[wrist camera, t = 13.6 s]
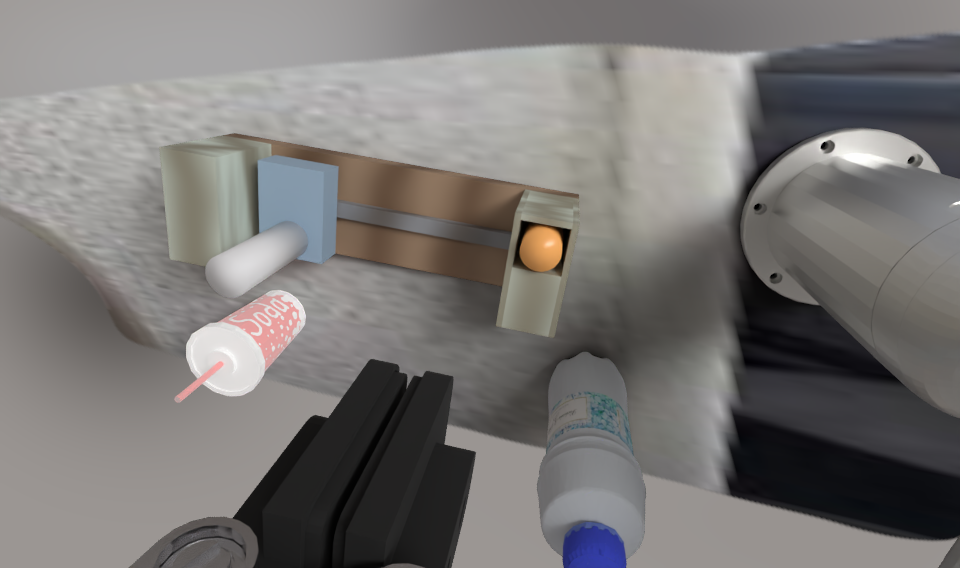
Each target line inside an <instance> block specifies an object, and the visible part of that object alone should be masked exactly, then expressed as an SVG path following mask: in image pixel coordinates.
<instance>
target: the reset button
mask: <svg viewBox="0 0 960 568" xmlns="http://www.w3.org/2000/svg"><path fill="white" fill-rule="evenodd" d="M562 244H563V229H562V227H556V226H551V225H546V224H540V223H535V222H529V223H528V225H527V227H526V230H525V233H524V236H523V239H522V243H521V246H520V257H521V260H522V261H523V263H524V264H525V265H526V266H527V267H528V268H530V269H531V270H534V271H538V272H544V271H548V270H551V269H552V268H554V267H555V266H556V265H557V264H558V263H559V261H560V259H561V256H562Z"/></svg>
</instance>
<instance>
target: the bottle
mask: <svg viewBox="0 0 960 568" xmlns="http://www.w3.org/2000/svg"><path fill="white" fill-rule="evenodd" d="M548 407H549V422H548V435H547V448H546V455H545V457H544V458H543V460H542V463H541V466H540V471H539V478H538V483H537V491H538V497H539V508H540V519H541V527H542V531H543V535H544V537H545V539H546V541H547V543H548V544H549V545H550V546H551V548H552V549H553V550H554V551H556V552H557V553H558V554H559V555H561V556H562V557H563V565H564V568H626V559H628V558H629V557H631V556H632V555H633V554H634V553H635V552H636V551H637V550H638V548H639V547H640V545H641V543H642V540H643V537H644V532H645V531H644V530H645V498H646V488H645V484H644V481H643V478H642V471H641V468H640V466H639V464H638V462H637V460H636V459H635V457H634V455H633V448H632V442H631V435H630V429H629V422H628V410H627V392H626V387H625V383H624V380H623V378H622V376H621V374H620V373H619V371H618V370H617V368H616V366H615V365H614V363H613V362H612V361H611V360H609V359H608V358H598V357H595V356H593V355H591V354H590V353H589V352H581V353H579V354H578V355H577V356H575V357H573V358H571V359H564V360H562V361H561V362H560V363H559V364H558V365H557V366H556V369H555V371H554V373H553V375H552V377H551V380H550V384H549V390H548Z"/></svg>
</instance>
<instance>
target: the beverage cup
mask: <svg viewBox="0 0 960 568" xmlns="http://www.w3.org/2000/svg"><path fill="white" fill-rule="evenodd" d="M305 318H306V315H305V312H304V308H303V306H302V305H301V303H300V302H299V301H298V299H297V298H295V297H294V296H293V295H291V294H290V293H288V292H284V291H281V290H275V291H270V292H268V293H266V294H265V295H263V296H261V297H259V298H258V299H256V300H254V301H253V302H251V303H249V304H248V305H246V306H244V307H242V308H241V309H239V310H237V311H236V312H234V313H232V314H231V315H229V316H227V317H226V318H224V319H222V320H220V321H219V322H217V323H209V324H208V325H206V326H204V327H202V328H201V329H199V330H198V331H196V332H194V333H193V334H192V335H191V337H190V339H189V341H188V342H187V344H186V359H187V361H188V363H189V366H190V368H191V371H192V372H193V374H194V375H195V376H196V377H197V378H198V379H197V380H196V381H194V382H193V383H192V384H191V385H190V386H188V387H187V388H186V389H185V390H183V391H182V392H181V393H180V394H178V395H177V396H176V397H175V398H174V400H175V401H176V402H177V403H180V402H181V401H182V400H183V399H184V398H186V397H187V396H188V395H189V394H190V393H192V392H193V391H194V390H195V389H197V388H198V387H199V386H200V385H201V384H203V385H205V386H206V387H208V388H209V389H211V390H212V391H214V392H216V393H219V394H223V395H226V396H242V395H244V394H246V393H248V392H250V391H252V390H253V389H254V388H255V387H256V385H257V384H258V383H259V382H260V380H261V379H262V377H263V376H264V372H265V371H266V370H267V369H268V367H269V366H270V365H271V364H272V363H273V362H274V361H275V359H276V358H277V357H278V356H279V355H280V354H281V353H282V351H283V350H284V349H285V348H286V347H287V346H288V345H289V343H290V342H291V341H292V340H293V339H294V338H295V337H296V335H297V334H298V333H299V332H300V331H301V329H302V328H303V326H304V325H305Z"/></svg>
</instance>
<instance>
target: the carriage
mask: <svg viewBox="0 0 960 568" xmlns="http://www.w3.org/2000/svg"><path fill="white" fill-rule="evenodd" d="M338 167H339V166H334V165H329V164H323V163H317V162H312V161H306V160H301V159H295V158H290V157H284V156H279V155H274V156H270V157H267V158H263V159H260V160H258V197H259V234H257V235H255V236H253V237H252V238H250V239H248V240H246V241H244V242H242V243H240V244H238V245H236V246H234V247H232V248H230V249H228V250H226V251H224V252H222V253H221V254H219V255H217V256H215V257H213V258H211V259H210V260H209V261H208V263H207V265H206V268H205V275H206V279H207V281H208V283H209V285H210V286H211V288H212V289H213V290H214V291H215V292H216V293H218V294H219V295H221V296H223V297H226V298H237V297H239V296H241V295H243V294H244V293H246V292H247V291H249V290H250V289H252V288H253V287H254V286H256V285H257V284H259V283H260V282H262V281H263V280H265V279H266V278H268V277H269V276H271V275H272V274H274V273H275V272H277V271H278V270H280V269H281V268H283V267H284V266H286V265H287V264H289V263H290V262H292V261H293V260H295V259H299V260H304V261H309V262H314V263H319V264H322V263H324V262H325V261H326V260H327V259H329V258H330V257H331V256H333V255H334V254H335V248H336V221H337V194H338Z"/></svg>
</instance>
